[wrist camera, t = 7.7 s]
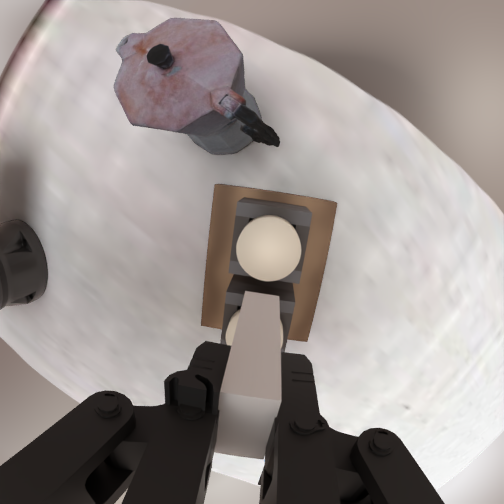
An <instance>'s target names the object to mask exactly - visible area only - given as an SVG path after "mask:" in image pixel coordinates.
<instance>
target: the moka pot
mask: <svg viewBox="0 0 504 504" xmlns="http://www.w3.org/2000/svg"><path fill="white" fill-rule="evenodd" d="M116 51H117V53H118V54H119V55H120V57H121V58H122V64H121V67H120V69H119V72H118V74H117V77H116V80H115V83H114V90H115V93H116V95H117V97H118V99H119V101H120V103H121V105H122V107H123V110H124V112H125V114H126V116H127V118H128V120H129V122H130V123H131V124H132V125H133V126H140V127H148V128H154V129H161V130H167V131H173V132H179V133H185V134H187V135H188V136H189V137H190V138H191V139H192V140H193V141H194V143H196V144H197V145H199V146H200V147H202V148H203V149H205V150H206V151H208V152H209V153H211V154H231V153H236V152H238V151H239V150H241V149H242V148H244V147H245V146H247V145H248V144H249V143H251V142H252V141H255V142H258V143H260V142H262V143H265V144H266V145H274V146H276V147H279V144H280V141H279V137H278V136H277V134H276V133H275V132H274V130H273V129H272V128H271V127H269V126H267V125H266V124H264V123H263V121H262V120H261V115H260V112H259V109H258V106H257V104H256V101H255V99H254V97H253V96H252V95H251V94H250V93H249V92H248V91H247V90H246V89H245V79H244V62H243V54H242V53H241V51H240V50H239V48H238V47H237V46H236V44H235V43H234V42H233V40H232V39H231V38H230V36H229V35H228V34H227V32H226V31H225V30H224V28H223V27H222V26H221V25H220V24H219V23H218V22H217V21H214V20H201V19H185V18H170V19H168V20H166V21H165V22H163V23H161V24H160V25H158V26H156V27H155V28H153V29H152V30H150V31H149V32H147V33H132V34H130V35H127V36H125V37H124V38H123V39H122V40H121V42H120V43H119V44H118V46H117V48H116Z"/></svg>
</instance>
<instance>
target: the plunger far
mask: <svg viewBox="0 0 504 504" xmlns="http://www.w3.org/2000/svg"><path fill="white" fill-rule="evenodd" d="M240 310H241V309H239V310H238V311H237V312H235V313H234V315H233V316H232V317H231V319H230V322H229V325H228V328H227V331H226V344H227V345H230V346H232V342H233V338H234V334H235V330H236V326H237V322H238V318H239V314H240ZM280 339H281V347H282V344H283V326H282V322H281V320H280Z"/></svg>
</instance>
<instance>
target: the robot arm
mask: <svg viewBox="0 0 504 504" xmlns="http://www.w3.org/2000/svg"><path fill="white" fill-rule="evenodd" d="M46 283H47V265H46V259H45V255H44V252H43V249H42V246H41V244H40V241H39V239H38V237H37V236H36V234H35V233H34V231H33V230H32V229H31V228H30V227H29V226H28V225H27V224H26V223H24V222H23V221H20V220H12V221H8V222H5V223H3V224H1V225H0V309H2V308H4V307H5V306H13V305H22V304H28V303H31V302H33V301H34V300H36V299H38V298H39V297H40V296H41V295H42V294H43V292H44V290H45V287H46ZM314 382H315V381H314V375H313V369H312V364H311V362H310V361H309V360H308V358H307V357H306V356H305V355H301V354H293V353H284V352H281V339H280V302H279V296H275V295H268V294H262V293H255V292H249V291H245V294H244V298H243V302H242V306H241V310H240V314H239V318H238V322H237V326H236V330H235V334H234V338H233V342H232V346H230V345H224V344H219V343H213V342H208V341H205V342H204V343H203V344H201V345H200V346H198V347H197V348H196V351H195V353H194V355H193V358H192V360H191V362H190V365H189V367H188V369H187V370H184V371H177V372H175V373H173V374H171V375H169V376H168V377H167V378H166V380H165V381H164V387H165V404H163V405H159V406H133V404H132V402H131V401H130V399H129V398H127V397H126V396H125V395H124V394H121V393H118V392H116V391H101V392H97V393H95V394H93V395H91V396H89V397H88V398H87V399H86V400H84V401H83V402H82V403H81V404H79V405H78V406H77V407H76V408H74V409H73V410H72V411H70V412H69V413H68V414H67V415H65V416H64V417H63V418H62V419H60V420H59V421H58V422H56V423H55V424H54V425H53V426H52V427H50V428H49V429H48V430H46V431H45V432H44V433H43V434H41V435H40V436H39V437H37V438H36V439H35V440H33V441H32V442H31V443H30V444H28V445H27V446H26V447H24V448H23V449H22V450H21V451H19V452H18V453H17V454H15V455H14V456H13V457H12V458H10V459H9V460H8V461H6V462H5V463H4V464H2V465H1V466H0V504H114V503H115V502H116V501H117V500H118V499H119V497H120V496H121V495H122V494H123V493H124V492H125V491H126V489H127V488H128V487H129V488H128V490H127V492H126V495H125V497H124V499H123V502H122V504H204V500H205V495H206V490H207V485H208V481H209V477H210V472H211V468H212V458H213V454H214V452H216V453H222V454H228V455H234V456H241V457H248V458H257V459H264V456H265V466H264V468H263V471H262V474H261V477H260V480H259V482H258V485H261V489H260V502H259V504H444V502H443V501H442V499H441V498H440V496H439V495H438V493H437V492H436V490H435V489H434V487H433V486H432V484H431V483H430V481H429V480H428V479H427V477H426V476H425V474H424V473H423V471H422V470H421V468H420V467H419V465H418V464H417V462H416V461H415V460H414V458H413V457H412V455H411V454H410V452H409V451H408V449H407V448H406V447H405V445H404V444H403V442H402V441H401V439H400V438H399V437H398V436H397V435H396V434H395V433H393V432H391V431H389V430H387V429H382V428H370V429H368V430H366V431H363V432H362V434H361V435H360V436H359V437H356V436H352V435H348V434H344V433H341V432H338V431H335V430H334V429H332V428H330V427H329V425H328V423H327V421H326V420H325V419H324V418H323V417H322V416H321V415H320V413H319V406H318V400H317V393H316V387H315V383H314Z"/></svg>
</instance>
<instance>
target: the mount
mask: <svg viewBox="0 0 504 504" xmlns="http://www.w3.org/2000/svg"><path fill="white" fill-rule="evenodd" d="M336 207H337V203H336V202H334V201H329V200H323V199H318V198H312V197H306V196H300V195H294V194H288V193H282V192H275V191H268V190H262V189H255V188H247V187H240V186H232V185H224V184H215V187H214V195H213V203H212V212H211V221H210V230H209V239H208V249H207V260H206V270H205V281H204V293H203V306H202V319H201V326H207V327H212V328H218V329H222V334H221V344H224V345H227V344H226V331H227V328H228V325H229V322H230V319H231V317H232V316H233V315H234V313H235V312H237V311H238V310H239V309H241V306H242V302H243V298H244V294H245V291H249V292H255V293H262V294H268V295H275V296H279V302H280V320H281V322H282V326H283V344H282V347H281V352H284V351H285V347H286V343H287V339H289V340H296V341H305V342H307V340H308V337H309V333H310V329H311V325H312V321H313V317H314V313H315V309H316V305H317V300H318V296H319V292H320V287H321V283H322V278H323V274H324V269H325V265H326V260H327V255H328V250H329V245H330V240H331V235H332V230H333V224H334V219H335V213H336ZM264 215H274V216H278V217H281V218H283V219H285V220H287V221H288V222H289V223H290V224H291V225H292V226H293V227H294V228H295V230H296V232H297V234H298V237H299V240H300V243H301V257H300V260H299V263H298V265H297V266H296V268H295V269H294V270H293V271H292V272H291V273H290V274H289V275H288V276H286V277H284V278H282V279H280V280H276V281H262V280H258V279H256V278H254V277H252V276H250V275H249V274H248V273H246V272H245V271H244V269H243V268H242V267H241V265H240V263H239V261H238V258H237V253H236V245H237V241H238V238H239V236H240V234H241V232H242V231H243V229H244V228H245V226H246V225H247V224H248V223H249V222H250V221H252V220H253V219H255V218H257V217H260V216H264Z"/></svg>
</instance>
